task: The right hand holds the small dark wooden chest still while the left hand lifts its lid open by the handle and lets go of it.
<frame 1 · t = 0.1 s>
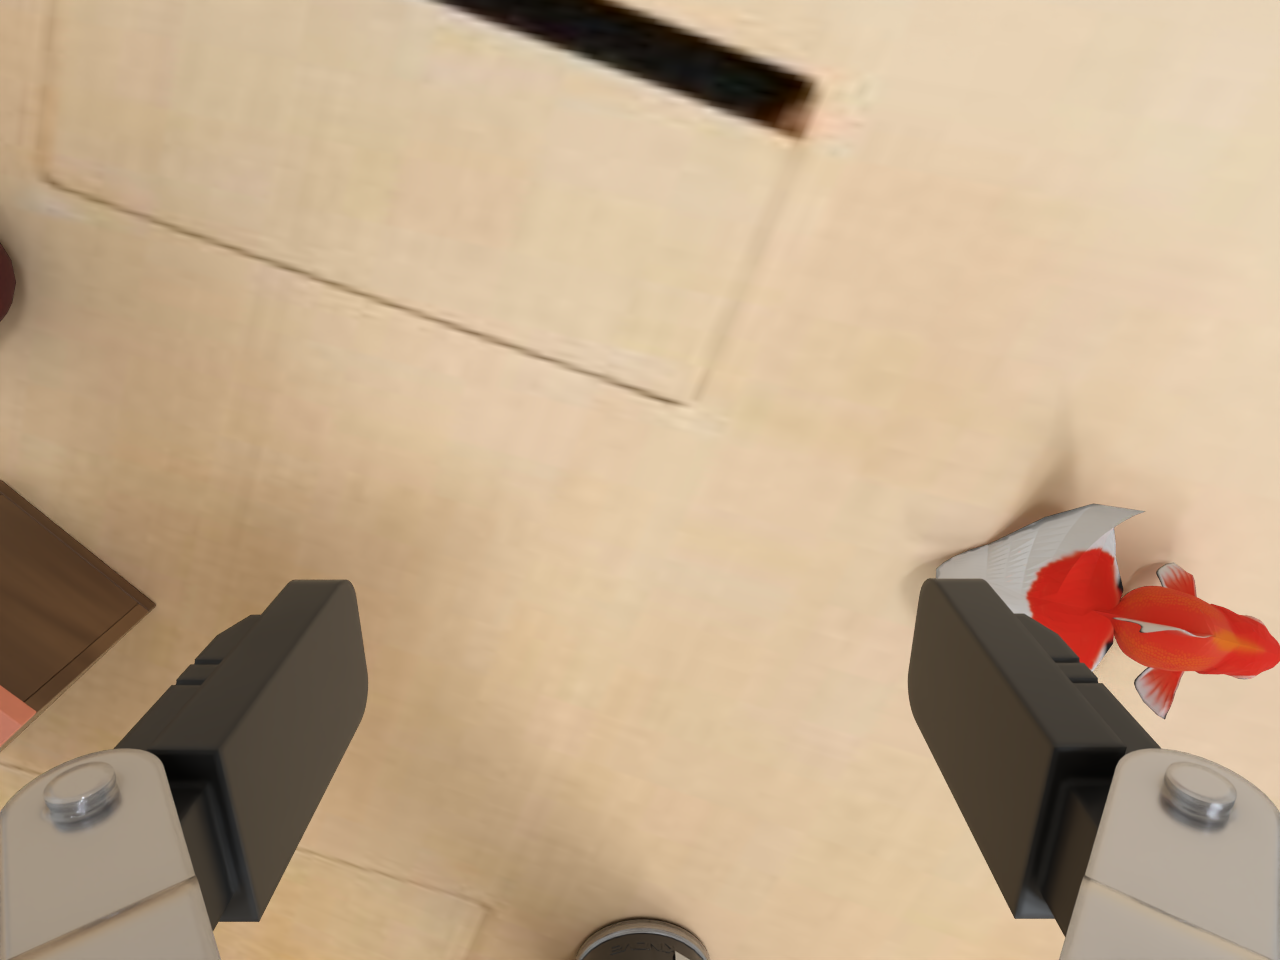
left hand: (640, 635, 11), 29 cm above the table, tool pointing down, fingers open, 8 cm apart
fish: (1058, 580, 44), on the table
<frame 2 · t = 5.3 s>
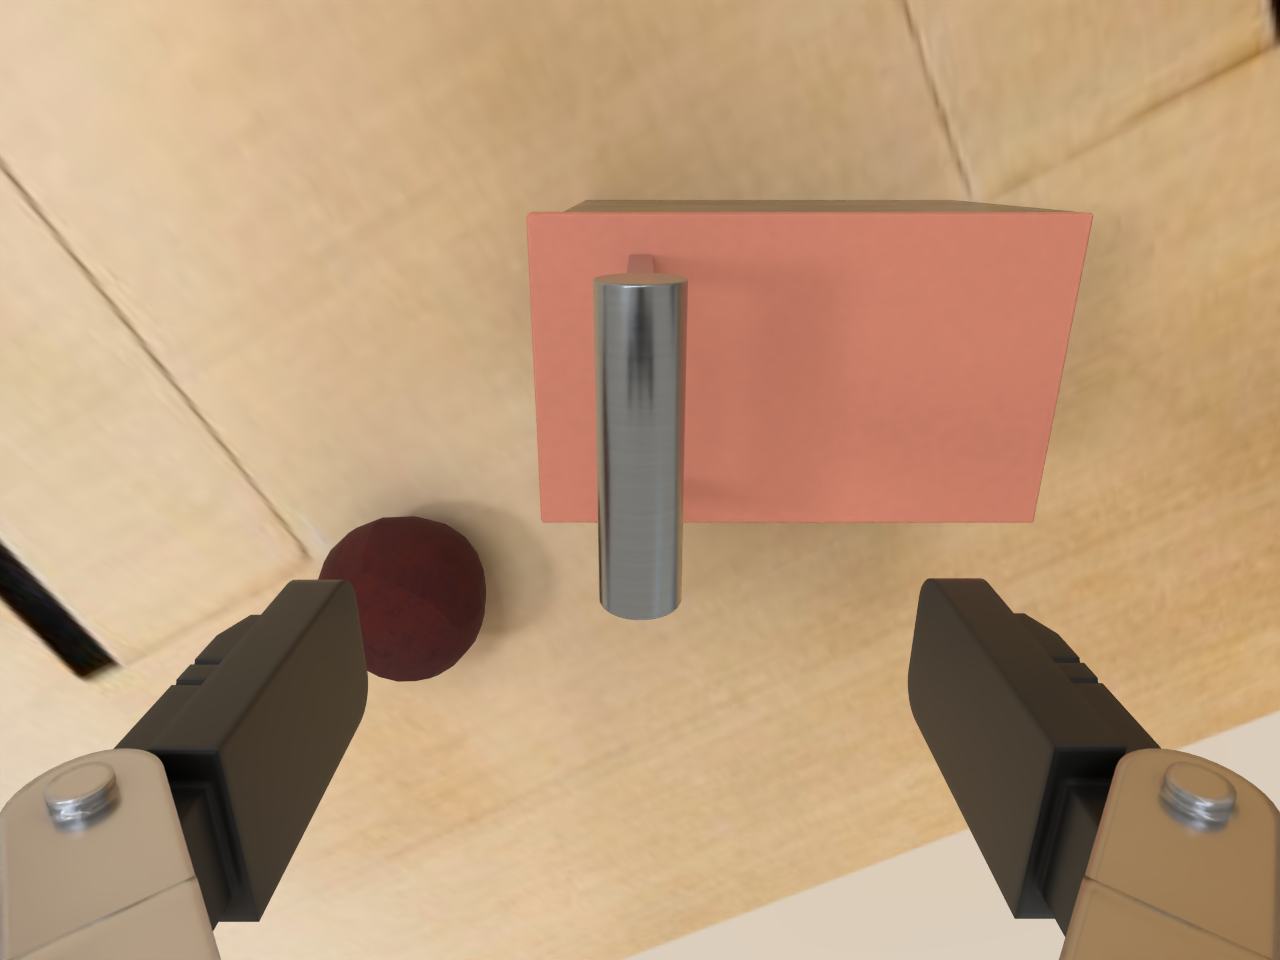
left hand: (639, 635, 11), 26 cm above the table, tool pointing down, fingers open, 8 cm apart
chest: (762, 318, 36), on the table
dark red ball: (424, 559, 40), on the table
lid: (821, 410, 22), point 15 cm above the table, hinge at 0.0°
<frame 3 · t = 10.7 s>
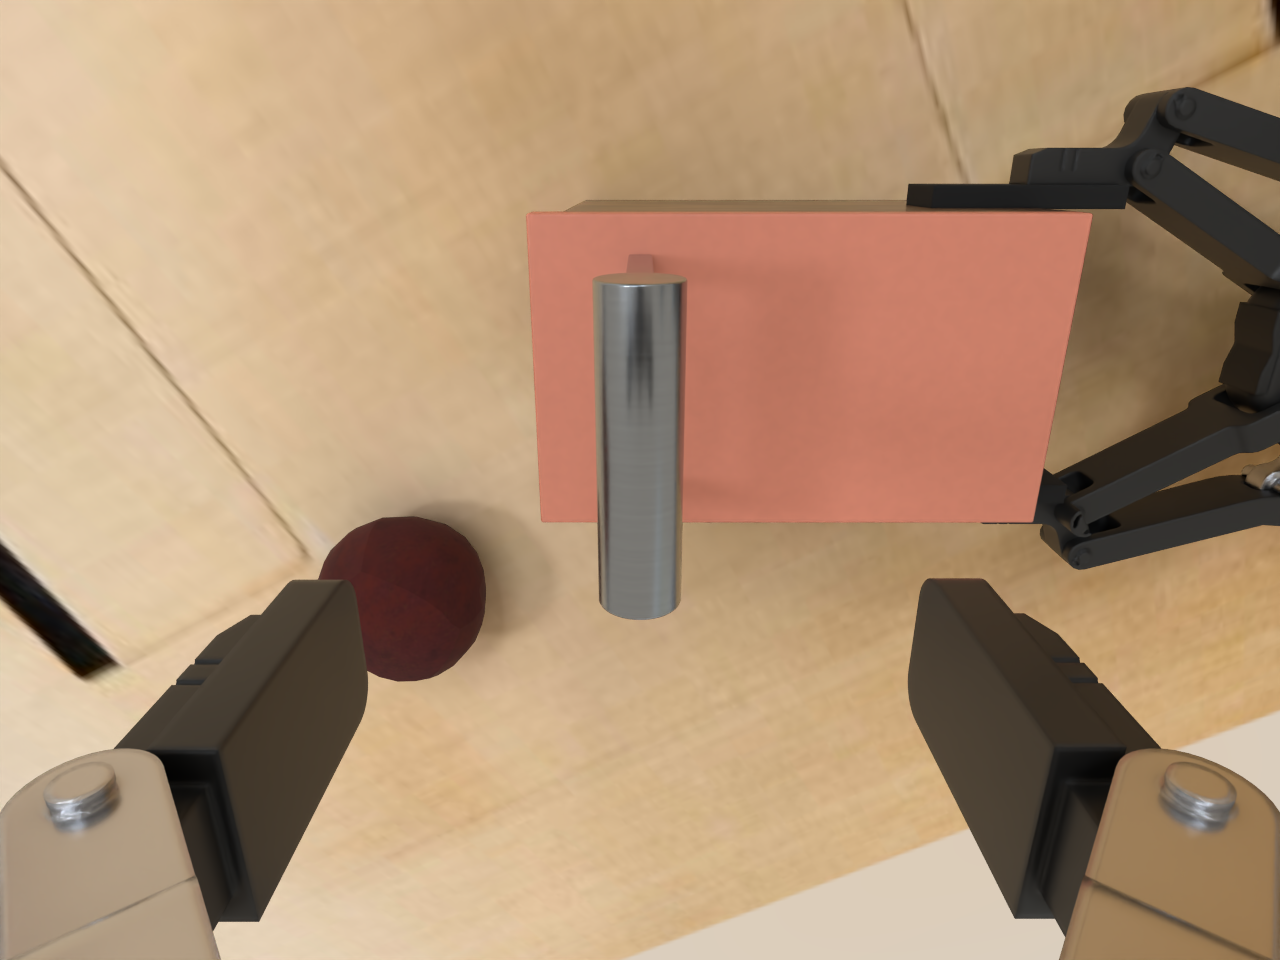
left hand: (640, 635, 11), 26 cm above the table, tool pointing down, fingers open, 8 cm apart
right hand: (901, 348, 30), fingers closed on chest, 10 cm apart
chest: (762, 318, 36), on the table, touching right hand
dark red ball: (424, 559, 40), on the table
lid: (820, 410, 22), point 15 cm above the table, hinge at 0.0°
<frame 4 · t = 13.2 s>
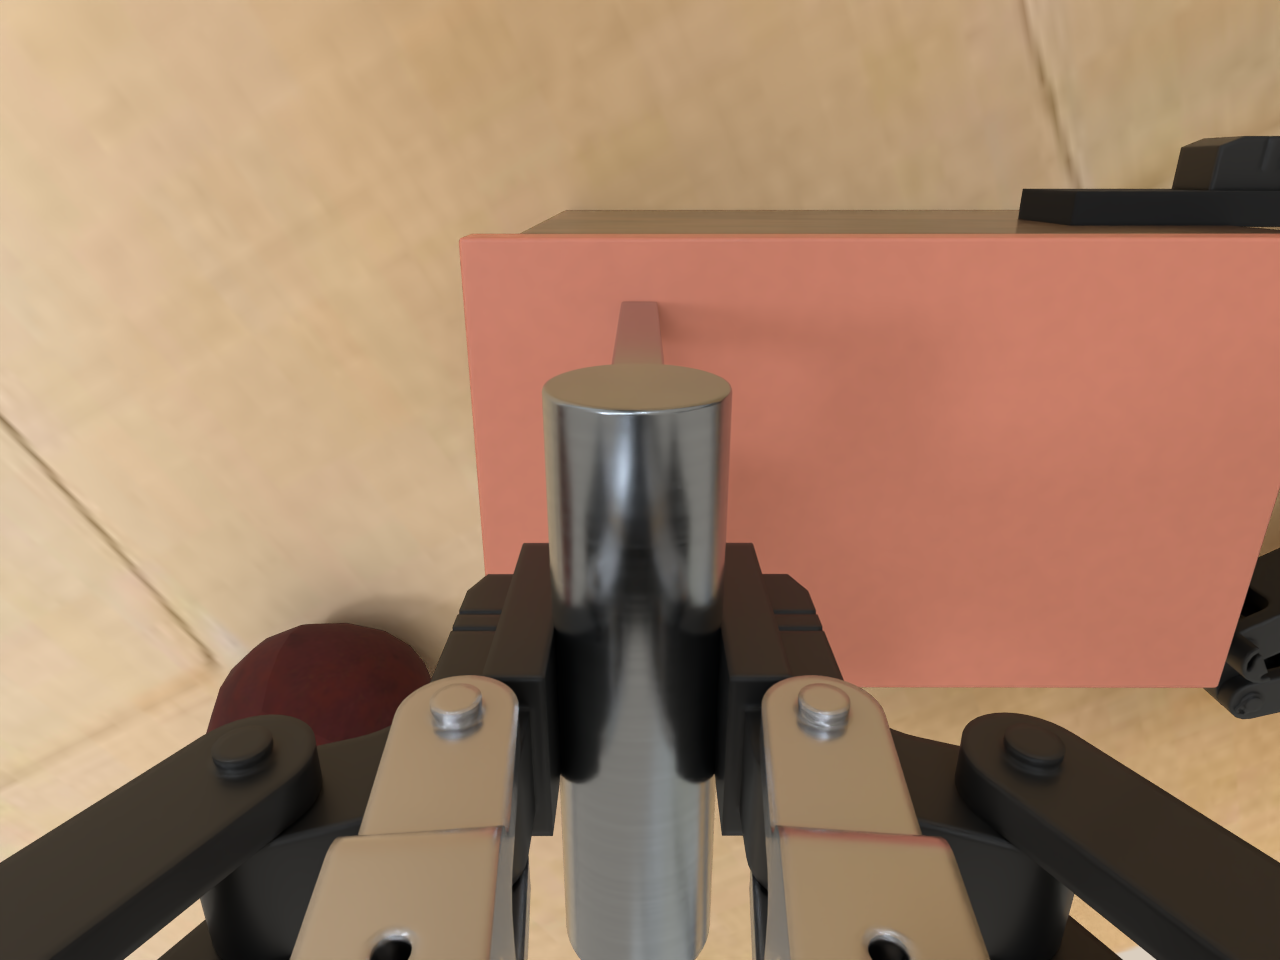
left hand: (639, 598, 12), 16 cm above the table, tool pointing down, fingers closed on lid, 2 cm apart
chest: (801, 365, 27), on the table, touching right hand
dark red ball: (363, 666, 32), on the table
lid: (937, 564, 13), point 15 cm above the table, hinge at -0.1°, touching left hand
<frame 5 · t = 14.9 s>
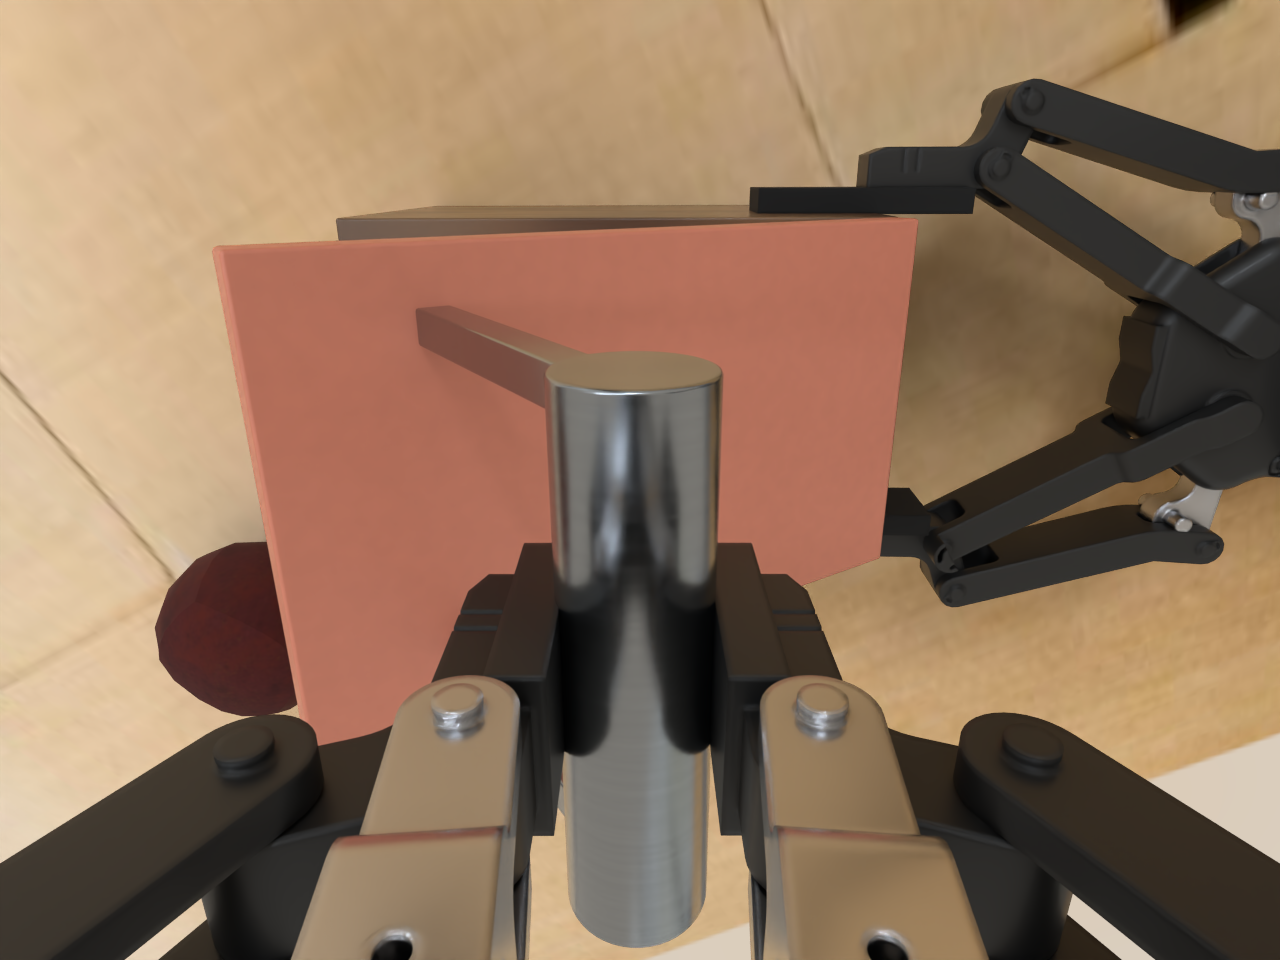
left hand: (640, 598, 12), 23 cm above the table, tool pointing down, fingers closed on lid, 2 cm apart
right hand: (746, 365, 27), fingers closed on chest, 10 cm apart
chest: (631, 331, 34), on the table, touching right hand
dark red ball: (293, 584, 38), on the table
lid: (754, 501, 16), point 19 cm above the table, hinge at 34.8°, touching left hand
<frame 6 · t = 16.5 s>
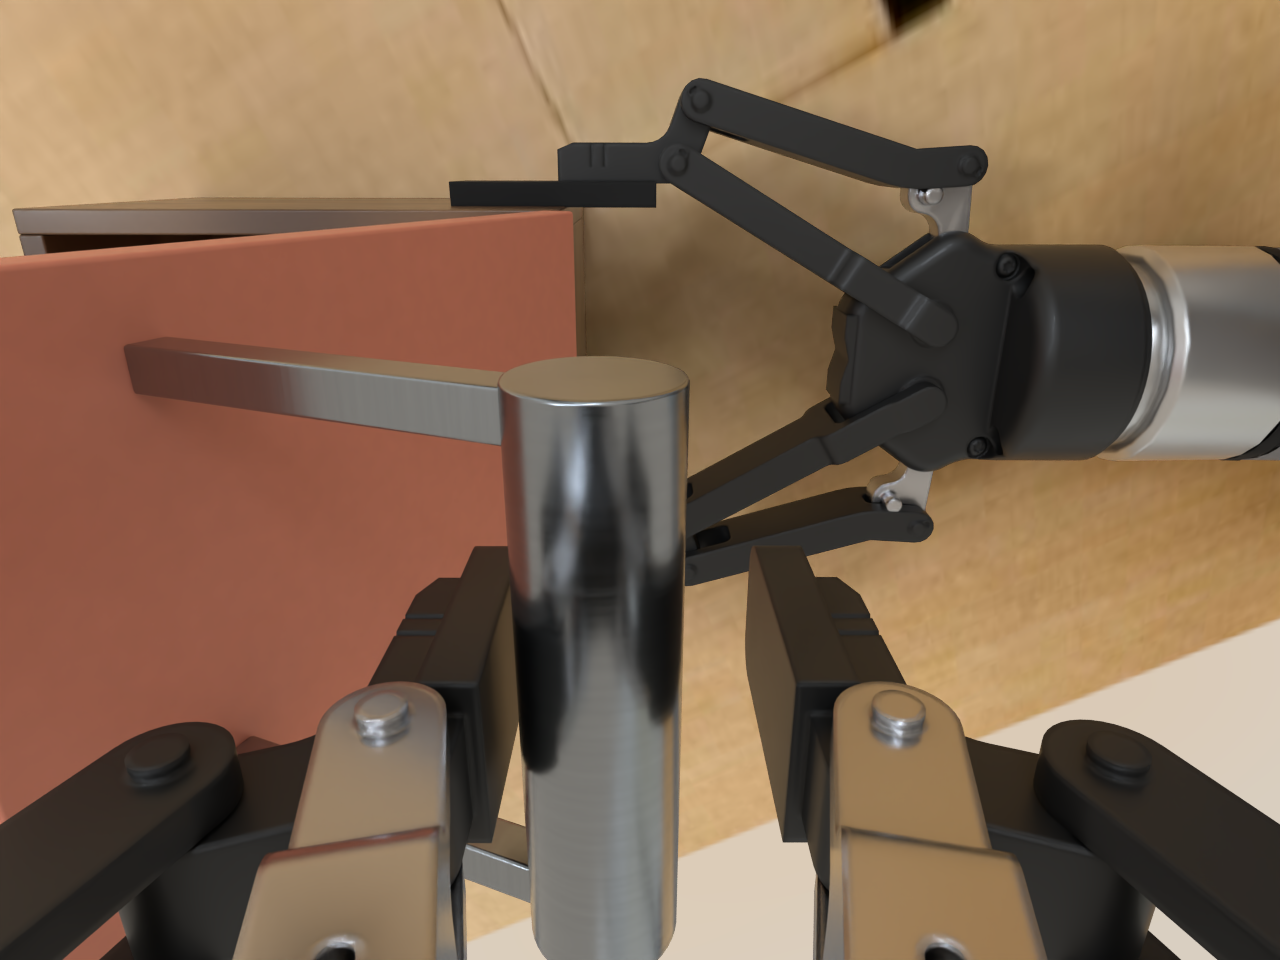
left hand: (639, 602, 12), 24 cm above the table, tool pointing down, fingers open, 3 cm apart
right hand: (471, 354, 28), fingers closed on chest, 10 cm apart
chest: (401, 321, 34), on the table, touching right hand
lid: (547, 502, 16), point 20 cm above the table, hinge at 67.6°
when the right hand's fingers open (6 cm above the table, at t = 20.9 s): chest stays where it is, on the table.
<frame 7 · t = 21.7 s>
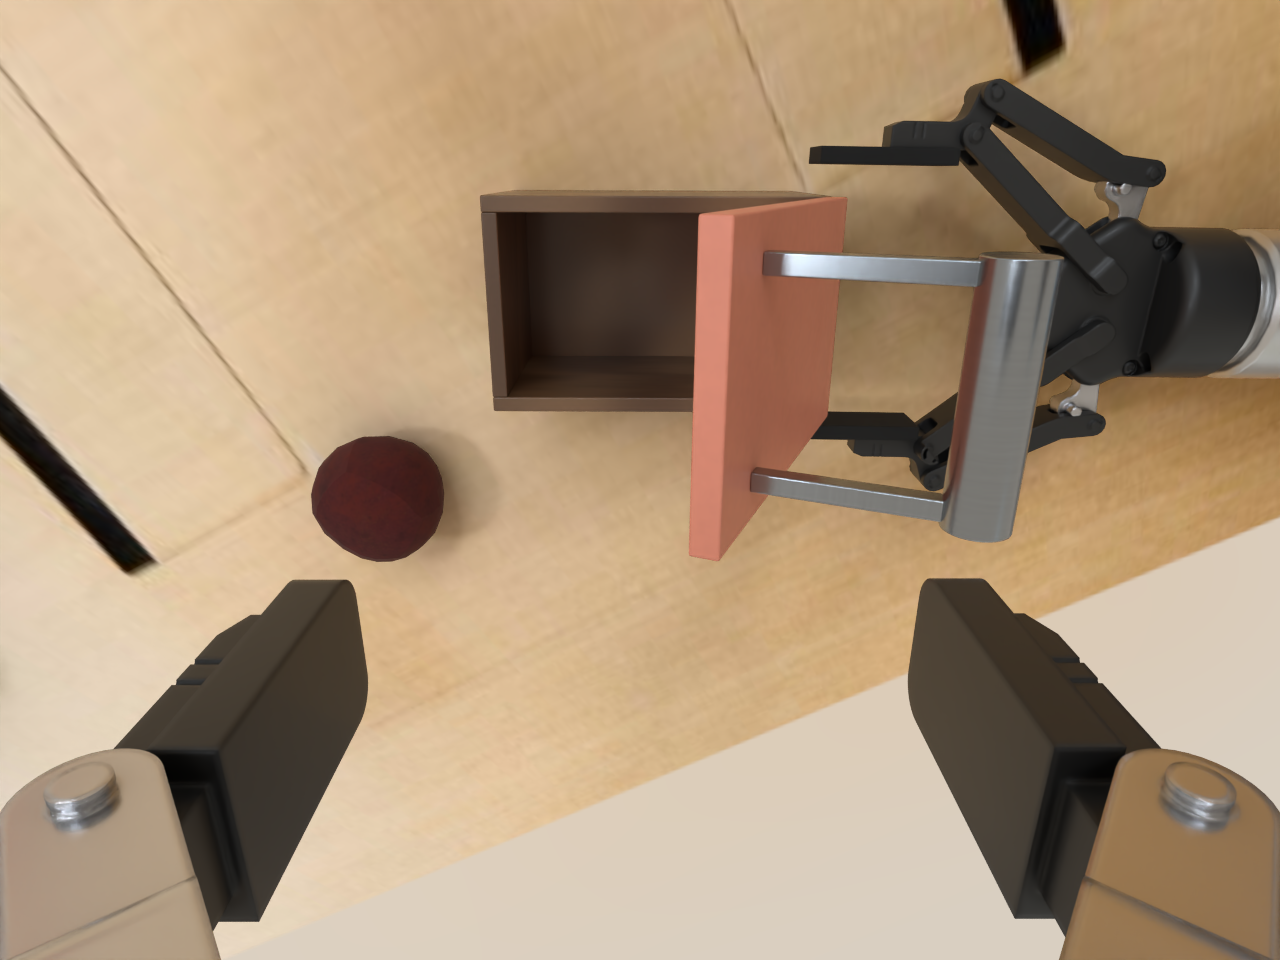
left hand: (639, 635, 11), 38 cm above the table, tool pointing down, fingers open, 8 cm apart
right hand: (801, 297, 41), fingers open, 13 cm apart
chest: (652, 281, 47), on the table
dark red ball: (397, 474, 51), on the table
lid: (892, 355, 28), point 20 cm above the table, hinge at 66.6°
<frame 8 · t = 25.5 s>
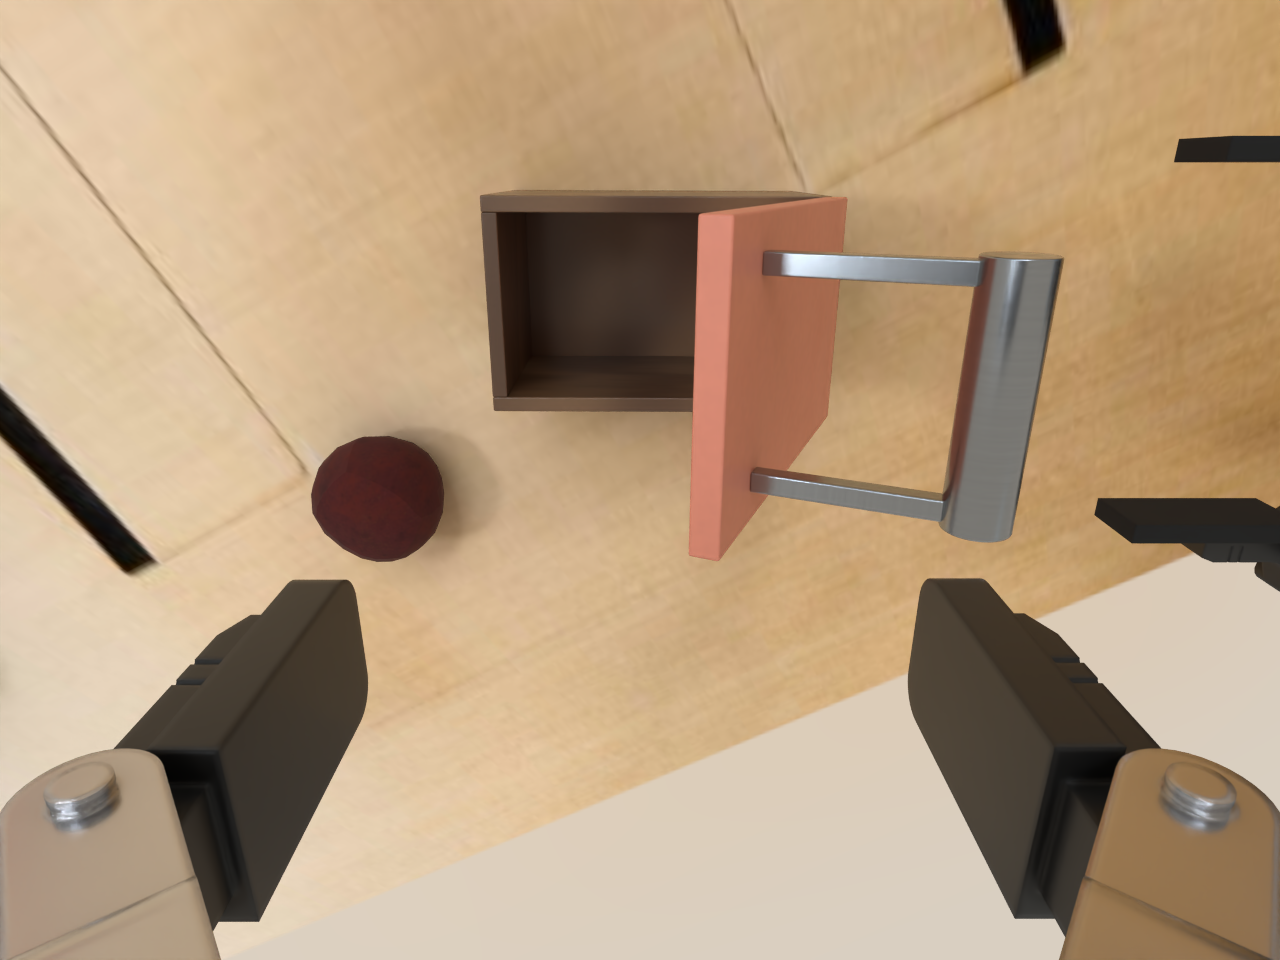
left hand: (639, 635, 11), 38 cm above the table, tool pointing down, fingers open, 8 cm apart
chest: (652, 281, 47), on the table
dark red ball: (397, 474, 51), on the table
lid: (892, 355, 28), point 20 cm above the table, hinge at 66.6°
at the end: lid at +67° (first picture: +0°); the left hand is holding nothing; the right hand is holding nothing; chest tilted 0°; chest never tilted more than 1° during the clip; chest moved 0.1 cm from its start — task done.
